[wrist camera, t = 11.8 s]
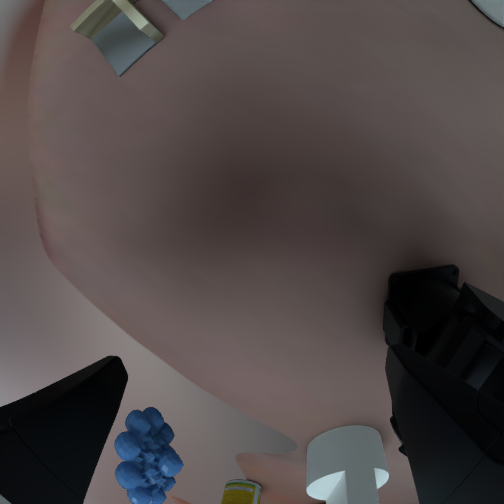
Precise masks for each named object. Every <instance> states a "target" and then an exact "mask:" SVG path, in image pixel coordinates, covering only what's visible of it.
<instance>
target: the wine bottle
mask: <svg viewBox="0 0 504 504" xmlns="http://www.w3.org/2000/svg"><path fill="white" fill-rule="evenodd" d="M471 1H472V2H473V3H474V4H475V5H476V6H477V7H478V8H479V9H480V10H481V11H482V12H483V13H484V14H485V15H486V16H488V17H489V18H490V19H491V20H493V21H494V22H496V23H497V24H499V25H500V26H502V27H504V0H471Z"/></svg>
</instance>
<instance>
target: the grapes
mask: <svg viewBox="0 0 504 504" xmlns="http://www.w3.org/2000/svg"><path fill="white" fill-rule="evenodd" d="M125 425H126V428H127V430H128V431H126V432H122V433H121V434H119V435H118V436H117V438H116V440H115V444H114V445H115V449H116V452H117V454H118V455H119V456H120V458H121V459H122V460H125V461H124V462H121V463H120V464H119V465H118V467H117V468H116V471H115V475H116V479H117V481H118V483H119V484H120V485H121V486H122V487H123V488H124V489H127V496H128V498H129V499H130V502H132V504H162V503H163V502H164V501H165V499H166V495H165V493H164V492H166V491H169V490H170V489H171V488H172V487H173V486H174V484H175V483H176V482H175V479H174V477H173V476H175V475H176V474H177V473H178V472H179V471H180V470H181V468H182V467H183V462H182V460H181V459H180V457H179V455H177V453H176V452H175V450H174V449H173V448H172V447H171V446H169V443H170V442H171V441H172V439H173V438H174V433H173V431H172V429H171V427H170V426H169V425H168V424H167V423H165V422H164V419H163V417H162V415H161V413H160V412H159V411H158V410H157V409H155V408H154V407H149V408H146V409H145V410H144V411H143V412H142V411H140V410H134V411H132V412H130V413H129V414H128V416H127V418H126V421H125Z"/></svg>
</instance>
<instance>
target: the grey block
mask: <svg viewBox="0 0 504 504" xmlns="http://www.w3.org/2000/svg"><path fill="white" fill-rule="evenodd" d="M162 1H163V2H164V3H165V4H166V5H167V6H168V7H169V8H170V9H171V10H172V11H173V12H175V13H176V14H177V15H178V16H179V17H180V18H181V19H182V20H184V19H186V18H187V17H189V16H190V15H191V14H193V13H194V12H196V11H197V10H199V9H200V8H202V7H203V6H205V5H206V4H208V3H209V2H211V1H213V0H162Z"/></svg>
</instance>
